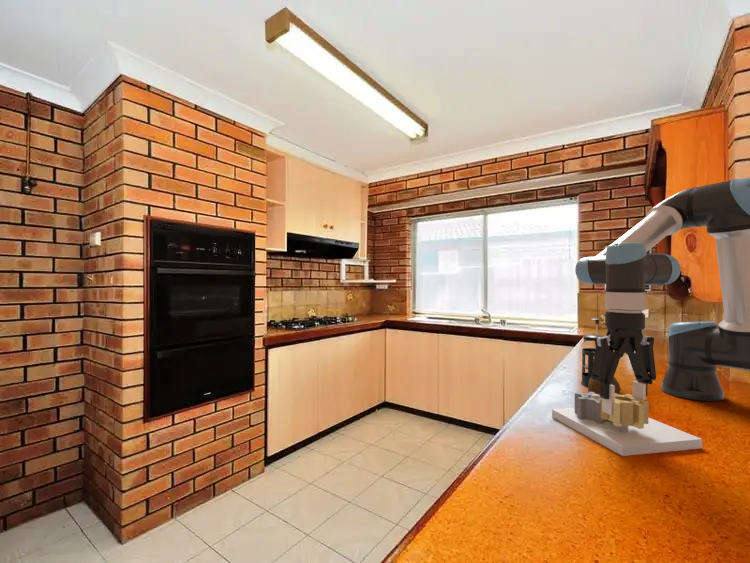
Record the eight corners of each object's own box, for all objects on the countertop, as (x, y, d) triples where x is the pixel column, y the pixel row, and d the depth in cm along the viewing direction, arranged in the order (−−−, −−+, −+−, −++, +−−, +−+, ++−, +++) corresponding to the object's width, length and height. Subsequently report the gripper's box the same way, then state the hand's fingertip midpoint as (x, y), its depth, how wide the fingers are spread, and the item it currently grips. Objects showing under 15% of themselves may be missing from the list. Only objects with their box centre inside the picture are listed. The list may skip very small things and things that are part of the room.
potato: (623, 398, 114) (624, 369, 114) (617, 408, 105) (617, 377, 105) (592, 392, 120) (592, 365, 119) (584, 401, 111) (584, 372, 110)
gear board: (617, 412, 102) (617, 384, 101) (701, 448, 80) (702, 413, 80) (552, 416, 98) (552, 388, 98) (622, 456, 76) (622, 419, 76)
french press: (604, 391, 121) (605, 320, 120) (574, 384, 128) (575, 318, 128) (619, 385, 127) (620, 318, 127) (590, 379, 135) (591, 316, 135)
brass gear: (609, 410, 90) (609, 390, 90) (651, 421, 84) (651, 398, 84) (595, 420, 84) (595, 398, 84) (639, 431, 78) (640, 408, 78)
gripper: (647, 309, 90) (646, 403, 90) (573, 310, 86) (572, 408, 86) (678, 312, 82) (677, 415, 82) (598, 313, 78) (597, 420, 79)
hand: (623, 411), depth 84 cm, fingers closed on brass gear, 7 cm apart
